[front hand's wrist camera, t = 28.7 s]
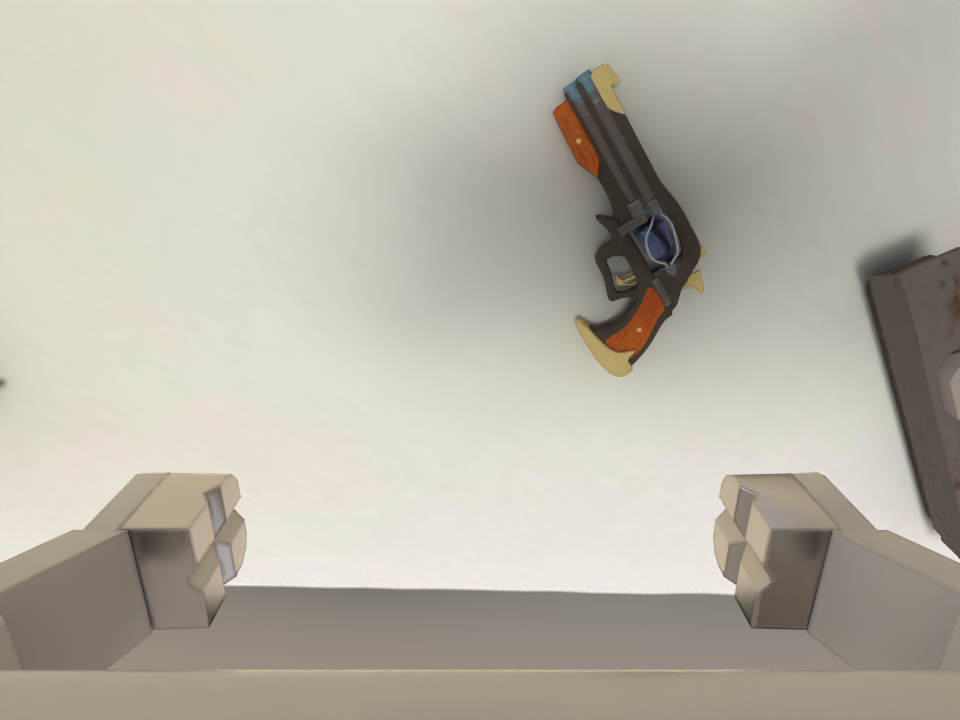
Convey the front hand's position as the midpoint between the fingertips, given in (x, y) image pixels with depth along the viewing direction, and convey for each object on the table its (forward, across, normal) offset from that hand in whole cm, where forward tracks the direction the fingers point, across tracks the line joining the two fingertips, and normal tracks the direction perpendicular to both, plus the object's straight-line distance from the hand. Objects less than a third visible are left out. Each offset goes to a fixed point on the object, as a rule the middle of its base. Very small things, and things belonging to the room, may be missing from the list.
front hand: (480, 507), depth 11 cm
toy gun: (+34, +9, -1) cm, 35 cm away
